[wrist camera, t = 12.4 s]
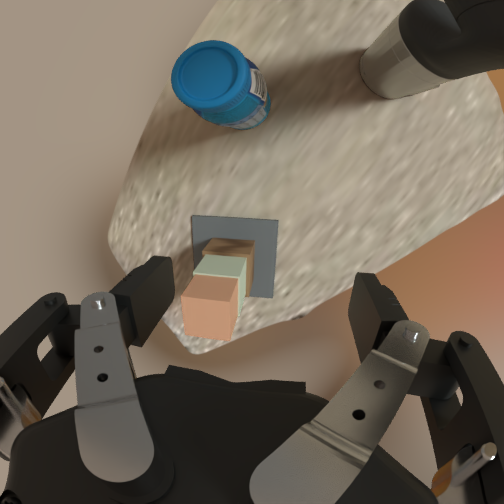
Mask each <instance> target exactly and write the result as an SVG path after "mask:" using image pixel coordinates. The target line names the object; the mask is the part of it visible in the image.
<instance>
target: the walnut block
mask: <svg viewBox="0 0 504 504" xmlns="http://www.w3.org/2000/svg"><path fill="white" fill-rule="evenodd" d="M206 254H208V255H220V256H233V257H245V258H247V259H246V294H245V297H249V295H250V291H251V287H252V283H253V279H254V254H255V240H242V239H228V238H212V239H211V240H210V242H209V243H208V244H207V245H206V247H205V248H204V249H203V251H202V256H203V257H204V256H205V255H206Z"/></svg>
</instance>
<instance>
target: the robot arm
mask: <svg viewBox="0 0 504 504" xmlns="http://www.w3.org/2000/svg"><path fill="white" fill-rule="evenodd" d="M444 1H445V3H444V2H442V1H439V0H413V1H412V2H410V3H409V4H408V5H407V6H406V7H405V8H404V9H403V10H402V12H401V13H400V14H399V15H398V16H397V17H396V18H395V19H394V20H393V21H392V22H391V24H390V25H389V26H388V27H387V28H386V29H385V30H384V31H383V32H382V33H381V35H380V36H379V37H378V38H377V39H376V40H375V41H374V42H373V44H372V45H371V46H370V47H369V48H368V49H367V50H366V51H365V52H364V54H363V55H362V57H361V59H360V65H359V68H360V73H361V76H362V78H363V80H364V82H365V84H366V85H367V86H368V87H369V88H370V89H371V90H372V91H373V92H374V93H376V94H378V95H379V96H382V97H384V98H388V99H397V98H401V97H404V96H407V95H411V96H412V95H415V94H418V93H421V92H425V91H428V90H431V89H434V88H437V87H439V86H440V84H443V83H446V82H449V81H452V80H455V79H459V78H463V77H466V76H470V75H474V74H478V73H482V72H487V71H490V70H497V69H504V0H444ZM174 294H175V287H174V277H173V267H172V260H171V258H170V257H164V256H153V257H151V258H150V259H149V260H148V261H147V262H146V263H145V264H144V265H141V266H139V267H137V268H135V269H133V270H132V271H131V272H130V273H129V274H128V275H127V276H126V277H125V278H123V280H121V281H120V282H119V283H118V284H117V285H116V286H115V287H114V288H113V289H112V290H110V292H96V293H93V294H91V295H88V296H87V297H85V298H84V299H83V300H82V302H81V305H68V304H67V300H66V297H65V295H64V294H62V293H57V292H56V293H50V294H47V295H45V296H43V297H41V298H40V299H39V300H38V301H37V302H35V303H34V304H33V305H32V306H31V307H30V308H29V309H28V310H26V311H25V312H24V313H23V314H22V315H21V316H20V317H19V318H18V319H17V320H16V321H15V322H13V323H12V325H10V326H9V327H8V328H7V329H6V330H5V331H4V332H3V333H2V334H1V335H0V457H1V458H3V459H4V460H6V461H10V463H9V473H8V478H7V483H6V486H5V489H4V491H3V493H2V495H1V496H0V504H504V384H503V383H502V381H501V379H500V377H499V375H498V374H497V372H496V370H495V368H494V366H493V364H492V363H491V361H490V359H489V358H488V356H487V354H486V353H485V351H484V349H483V348H482V346H481V345H480V343H479V342H478V340H477V339H476V338H475V337H474V336H472V335H470V334H469V333H466V332H463V331H455V332H453V333H451V335H450V337H449V339H448V341H447V342H444V341H438V340H434V339H430V335H429V332H428V330H427V329H426V328H425V327H424V326H422V325H421V324H419V323H417V322H414V321H410V320H409V319H408V317H407V315H406V313H405V312H404V310H403V308H402V307H401V305H400V303H399V301H398V300H397V298H396V296H395V295H394V293H393V291H391V290H390V289H389V288H387V287H386V286H385V285H381V284H380V282H379V280H378V279H377V277H376V275H375V274H374V273H359V272H358V273H357V274H356V276H355V280H354V285H353V290H352V294H351V299H350V303H349V309H348V316H349V321H350V324H351V328H352V331H353V335H354V339H355V343H356V346H357V350H358V354H359V358H360V361H361V365H360V366H359V368H358V369H357V370H356V371H355V372H354V374H353V375H352V376H351V377H350V379H349V380H348V381H347V382H346V383H345V385H344V386H343V387H342V388H341V390H339V392H338V393H337V394H336V395H335V396H334V397H333V399H332V400H331V401H330V402H329V401H328V400H326V399H324V398H322V397H319V396H317V395H314V394H311V393H307V392H306V386H305V385H306V383H305V382H294V381H279V380H264V381H252V382H238V383H235V382H229V381H227V380H224V379H221V378H218V377H216V376H213V375H210V374H208V373H205V372H202V371H199V370H193V369H188V368H182V367H177V366H172V365H169V366H168V368H167V370H166V372H165V374H153V375H147V376H143V377H139V378H137V377H136V373H135V370H134V367H133V363H132V359H131V356H130V352H129V349H128V348H129V346H130V345H134V346H138V347H142V346H143V345H144V343H145V342H146V340H147V339H148V337H149V336H150V334H151V333H152V331H153V329H154V328H155V326H156V325H157V323H158V322H159V321H160V319H161V318H162V316H163V315H164V313H165V312H166V310H167V309H168V307H169V306H170V305H171V303H172V301H173V299H174ZM47 335H48V337H49V339H50V342H51V344H52V346H53V347H52V349H51V350H50V351H49V352H48V353H47V354H46V356H45V357H44V358H43V359H42V361H41V362H40V360H39V358H38V355H37V348H38V346H39V344H40V343H41V342H42V341H43V339H44V338H45V337H46V336H47ZM74 370H75V375H76V390H77V401H78V405H77V406H74V407H72V408H69V409H67V410H65V411H62V412H60V413H57V414H55V415H53V416H50V417H48V418H45V419H43V420H42V418H43V417H44V415H45V413H46V412H47V410H48V409H49V407H50V406H51V404H52V403H53V401H54V399H55V398H56V396H57V395H58V393H59V392H60V390H61V389H62V388H63V386H64V384H65V383H66V382H67V380H68V379H69V377H70V376H71V374H72V373H73V372H74ZM458 387H460V389H461V391H462V394H463V403H462V406H461V405H460V403H459V400H458V397H457V395H456V390H457V389H458ZM406 394H411V395H417V396H420V398H421V401H422V405H423V408H424V412H425V416H426V419H427V423H428V427H429V431H430V435H431V440H432V444H433V448H434V453H435V458H436V463H437V468H438V471H437V472H436V473H435V475H434V477H433V479H432V486H431V489H429V488H428V487H427V486H426V485H425V484H424V483H422V482H421V481H420V480H418V478H416V477H415V476H414V475H413V474H412V473H410V472H409V471H408V470H407V469H406V468H404V467H403V466H402V465H401V464H400V463H399V462H398V461H396V460H395V459H394V458H393V457H392V456H391V455H390V454H388V453H387V452H386V451H385V450H384V449H383V448H382V447H380V446H379V445H378V443H379V441H380V440H381V438H382V437H383V435H384V433H385V432H386V430H387V428H388V427H389V425H390V423H391V422H392V420H393V418H394V416H395V415H396V413H397V411H398V409H399V407H400V405H401V403H402V401H403V400H404V398H405V396H406Z"/></svg>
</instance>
